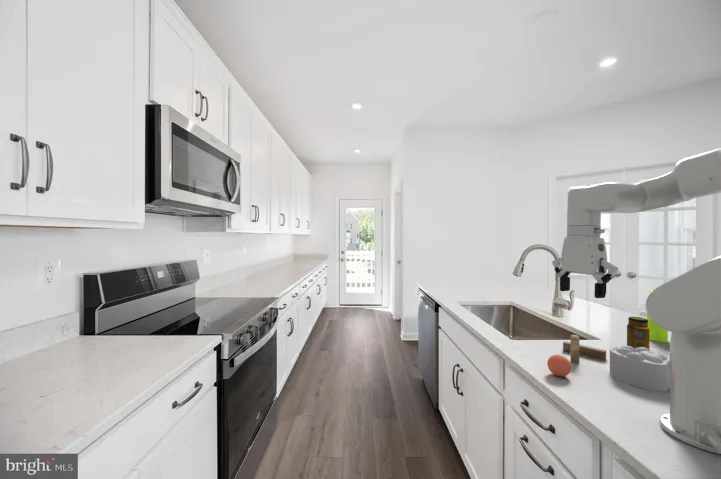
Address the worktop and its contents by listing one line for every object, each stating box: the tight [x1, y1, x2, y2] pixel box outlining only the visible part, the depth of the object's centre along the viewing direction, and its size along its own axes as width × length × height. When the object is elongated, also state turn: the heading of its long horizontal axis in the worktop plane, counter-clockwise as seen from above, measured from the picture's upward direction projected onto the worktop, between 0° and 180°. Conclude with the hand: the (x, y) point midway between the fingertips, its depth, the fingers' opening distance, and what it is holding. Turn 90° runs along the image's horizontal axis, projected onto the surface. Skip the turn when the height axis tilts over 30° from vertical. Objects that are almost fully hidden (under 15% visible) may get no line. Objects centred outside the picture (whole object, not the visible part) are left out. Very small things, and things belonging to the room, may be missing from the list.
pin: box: [569, 334, 580, 365], centre depth 102 cm, size 2×2×8 cm
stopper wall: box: [562, 341, 607, 361], centre depth 108 cm, size 2×12×3 cm, turn 41°
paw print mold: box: [609, 345, 670, 393], centre depth 89 cm, size 10×13×9 cm
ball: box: [546, 354, 572, 377], centre depth 92 cm, size 6×6×6 cm
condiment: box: [626, 316, 651, 350], centre depth 110 cm, size 7×8×12 cm
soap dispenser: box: [646, 288, 669, 343], centre depth 123 cm, size 6×7×20 cm
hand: (581, 294), depth 86 cm, fingers open, 9 cm apart
